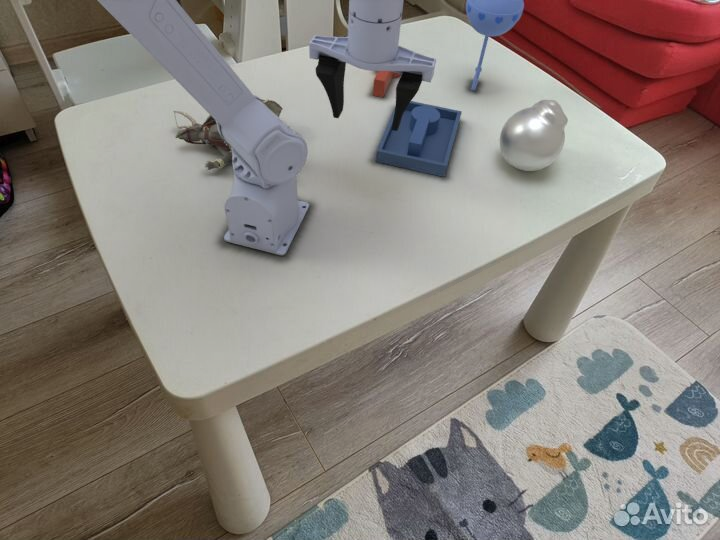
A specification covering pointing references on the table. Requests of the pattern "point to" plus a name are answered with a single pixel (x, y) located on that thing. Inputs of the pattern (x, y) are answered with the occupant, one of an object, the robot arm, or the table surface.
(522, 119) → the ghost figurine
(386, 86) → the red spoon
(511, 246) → the table surface
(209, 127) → the figurine
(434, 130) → the blue spoon
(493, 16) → the baby rattle
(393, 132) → the blue tray
